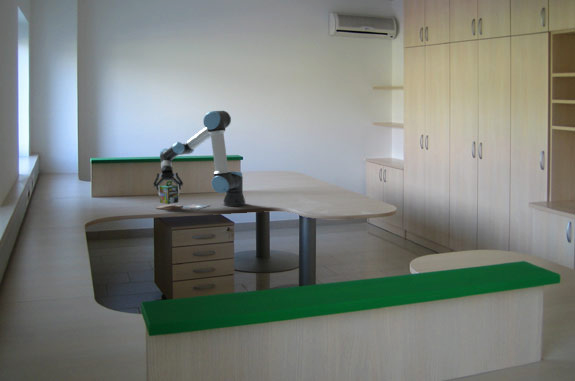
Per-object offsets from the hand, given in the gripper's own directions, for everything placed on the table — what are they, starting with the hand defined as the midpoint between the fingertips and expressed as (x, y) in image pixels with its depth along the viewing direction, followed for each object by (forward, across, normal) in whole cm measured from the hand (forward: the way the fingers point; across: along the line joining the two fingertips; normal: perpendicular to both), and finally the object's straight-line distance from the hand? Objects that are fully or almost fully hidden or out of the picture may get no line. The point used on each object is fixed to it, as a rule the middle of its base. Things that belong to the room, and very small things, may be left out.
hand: (169, 193), depth 425 cm
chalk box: (+3, 0, -6) cm, 7 cm away
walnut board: (+5, 0, -9) cm, 10 cm away
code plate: (+6, -17, -8) cm, 20 cm away
